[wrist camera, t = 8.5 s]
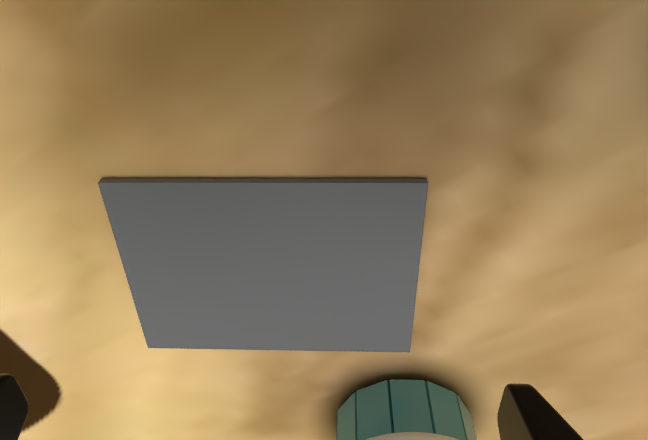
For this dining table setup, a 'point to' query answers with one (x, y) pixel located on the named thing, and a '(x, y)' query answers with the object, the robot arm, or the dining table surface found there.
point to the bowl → (403, 411)
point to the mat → (271, 261)
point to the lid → (412, 436)
